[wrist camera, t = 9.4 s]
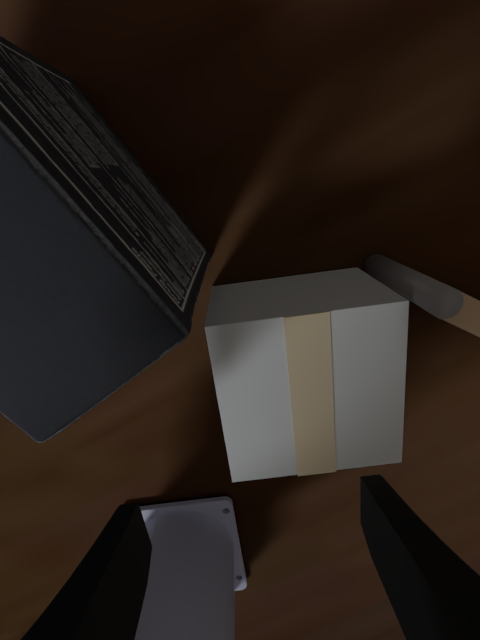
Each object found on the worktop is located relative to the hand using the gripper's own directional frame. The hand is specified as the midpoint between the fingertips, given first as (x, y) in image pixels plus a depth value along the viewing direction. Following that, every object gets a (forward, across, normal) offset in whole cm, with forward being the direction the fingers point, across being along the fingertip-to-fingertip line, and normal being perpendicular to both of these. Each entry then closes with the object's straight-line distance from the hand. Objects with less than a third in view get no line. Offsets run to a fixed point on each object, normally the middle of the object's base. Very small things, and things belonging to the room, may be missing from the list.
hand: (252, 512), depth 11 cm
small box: (+11, +6, -9) cm, 15 cm away
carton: (+10, -3, -1) cm, 11 cm away
